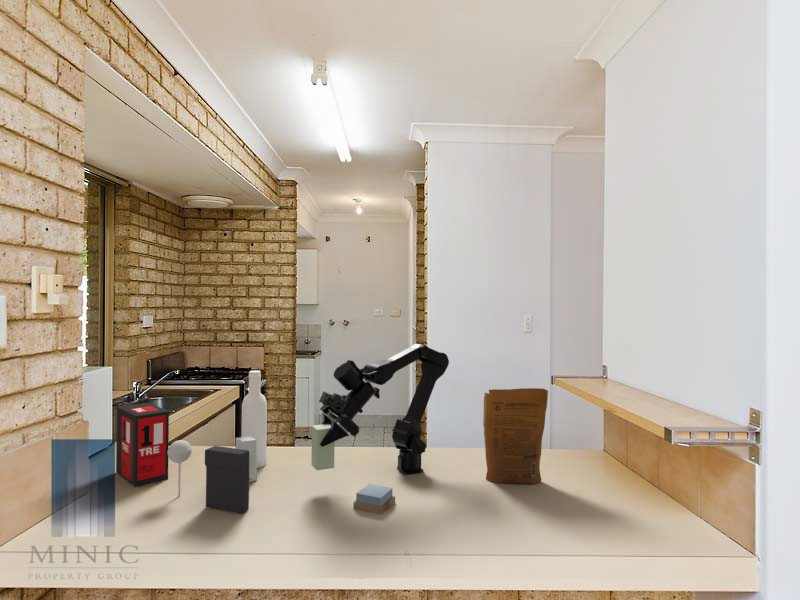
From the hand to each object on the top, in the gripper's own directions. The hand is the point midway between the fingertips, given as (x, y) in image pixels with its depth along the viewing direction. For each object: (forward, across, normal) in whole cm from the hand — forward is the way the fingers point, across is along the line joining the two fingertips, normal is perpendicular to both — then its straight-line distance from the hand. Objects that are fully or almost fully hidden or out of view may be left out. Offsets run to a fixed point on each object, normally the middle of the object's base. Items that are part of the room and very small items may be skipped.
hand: (318, 443), depth 136 cm
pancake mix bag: (-29, +17, +49) cm, 59 cm away
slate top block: (+1, +15, +16) cm, 22 cm away
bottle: (+18, -30, +1) cm, 35 cm away
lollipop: (+34, -12, -15) cm, 39 cm away
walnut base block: (+2, +15, +18) cm, 23 cm away
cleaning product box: (+41, -34, -22) cm, 57 cm away
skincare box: (+21, -18, -2) cm, 28 cm away
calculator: (+26, +1, -7) cm, 27 cm away
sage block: (+4, 0, +6) cm, 7 cm away
